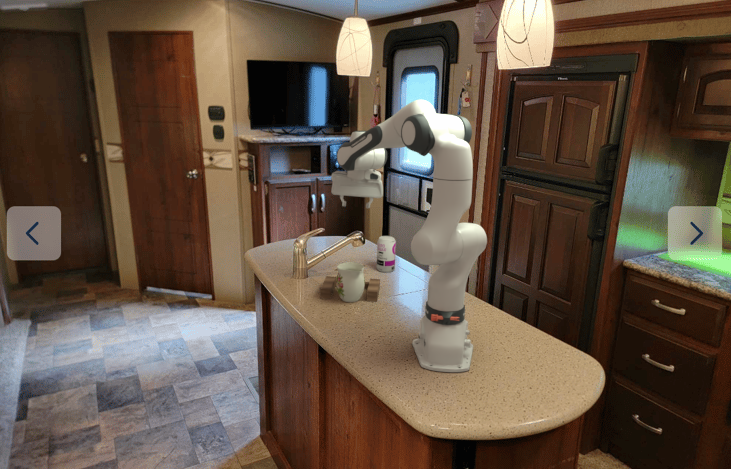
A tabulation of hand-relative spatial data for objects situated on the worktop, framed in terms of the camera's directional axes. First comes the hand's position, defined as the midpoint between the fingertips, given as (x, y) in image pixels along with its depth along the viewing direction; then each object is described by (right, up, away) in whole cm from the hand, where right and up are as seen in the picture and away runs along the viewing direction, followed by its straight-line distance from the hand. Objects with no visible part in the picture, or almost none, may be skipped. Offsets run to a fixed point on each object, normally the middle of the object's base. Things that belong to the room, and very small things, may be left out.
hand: (355, 206), depth 191 cm
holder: (-2, -34, +1) cm, 34 cm away
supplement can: (+13, -27, +29) cm, 42 cm away
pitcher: (-3, -36, -4) cm, 36 cm away
